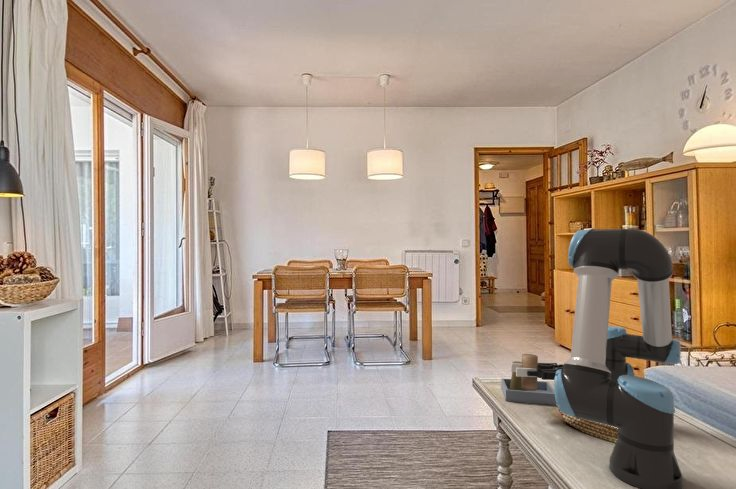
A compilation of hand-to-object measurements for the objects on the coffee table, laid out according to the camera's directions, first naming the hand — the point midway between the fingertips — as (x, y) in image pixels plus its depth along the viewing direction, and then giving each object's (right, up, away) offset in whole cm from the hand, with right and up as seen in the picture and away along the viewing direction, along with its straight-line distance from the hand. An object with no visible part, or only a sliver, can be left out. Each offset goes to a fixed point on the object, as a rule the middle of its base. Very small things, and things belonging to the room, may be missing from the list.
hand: (513, 369), depth 142 cm
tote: (+12, -16, +18) cm, 27 cm away
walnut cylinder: (+5, -6, 0) cm, 8 cm away
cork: (+9, -15, +22) cm, 29 cm away
